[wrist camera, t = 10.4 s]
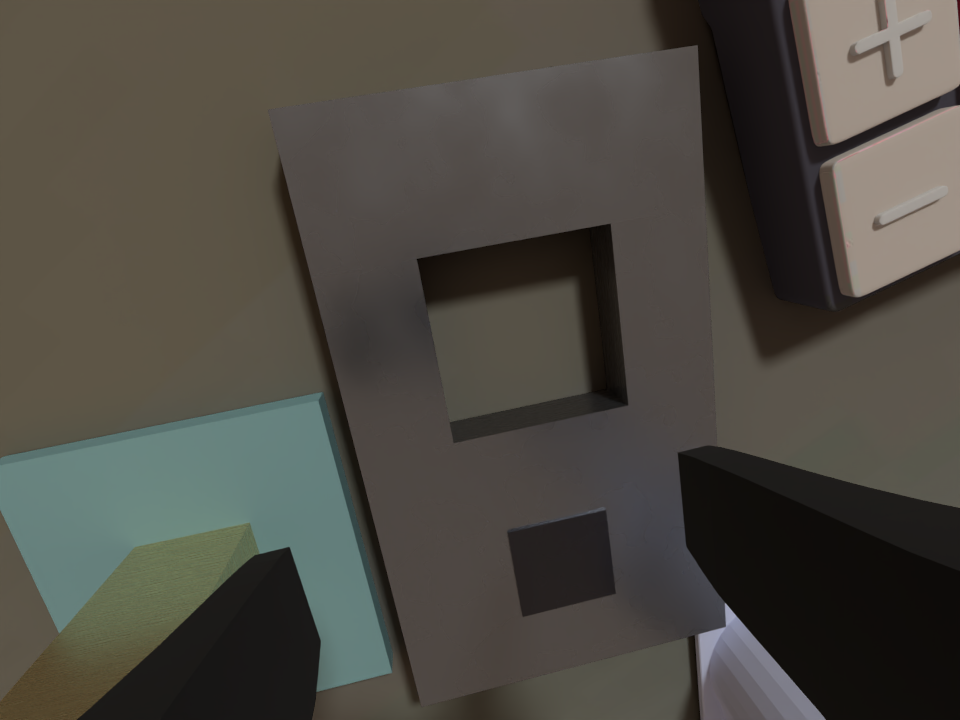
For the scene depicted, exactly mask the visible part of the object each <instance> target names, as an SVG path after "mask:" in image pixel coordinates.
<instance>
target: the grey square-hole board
mask: <svg viewBox="0 0 960 720" xmlns="http://www.w3.org/2000/svg"><path fill="white" fill-rule="evenodd" d="M268 112H269V116H270V120H271V124H272V128H273V132H274V136H275V140H276V144H277V147H278V151H279V155H280V159H281V163H282V167H283V171H284V175H285V178H286V182H287V186H288V190H289V194H290V198H291V202H292V206H293V210H294V213H295V217H296V221H297V225H298V229H299V233H300V237H301V241H302V245H303V248H304V252H305V256H306V260H307V264H308V268H309V272H310V276H311V279H312V283H313V287H314V291H315V295H316V299H317V303H318V307H319V311H320V314H321V318H322V322H323V326H324V330H325V334H326V338H327V342H328V346H329V349H330V353H331V357H332V361H333V365H334V369H335V373H336V377H337V380H338V384H339V388H340V392H341V396H342V400H343V404H344V408H345V412H346V415H347V419H348V423H349V427H350V431H351V435H352V439H353V443H354V446H355V450H356V454H357V458H358V462H359V466H360V470H361V474H362V478H363V481H364V485H365V489H366V493H367V497H368V501H369V505H370V509H371V513H372V516H373V520H374V524H375V528H376V532H377V536H378V540H379V544H380V547H381V551H382V555H383V559H384V563H385V567H386V571H387V575H388V579H389V582H390V586H391V590H392V594H393V598H394V602H395V606H396V610H397V614H398V617H399V621H400V625H401V629H402V633H403V637H404V641H405V645H406V648H407V652H408V656H409V660H410V664H411V668H412V672H413V676H414V680H415V683H416V687H417V691H418V695H419V699H420V703H421V707H424V706H427V705H431V704H435V703H439V702H443V701H446V700H450V699H454V698H458V697H462V696H465V695H469V694H473V693H477V692H481V691H484V690H488V689H492V688H496V687H500V686H503V685H507V684H511V683H515V682H519V681H522V680H526V679H530V678H534V677H538V676H541V675H545V674H549V673H553V672H557V671H560V670H564V669H568V668H572V667H576V666H579V665H583V664H587V663H591V662H595V661H598V660H602V659H606V658H610V657H614V656H617V655H621V654H625V653H629V652H633V651H636V650H640V649H644V648H648V647H652V646H655V645H659V644H663V643H667V642H671V641H674V640H678V639H682V638H686V637H690V636H693V635H697V634H701V633H705V632H709V631H712V630H716V629H720V628H724V627H726V616H725V602H724V601H723V600H722V598H721V597H720V596H719V595H718V594H717V592H716V591H715V589H714V588H713V586H712V585H711V583H710V582H709V581H708V579H707V578H706V576H705V575H704V573H703V572H702V570H701V569H700V567H699V566H698V564H697V562H696V561H695V559H694V558H693V556H692V555H691V553H690V552H689V550H688V549H687V547H686V540H685V529H684V518H683V507H682V496H681V484H680V473H679V462H678V452H682V451H686V450H690V449H694V448H699V447H703V446H707V445H711V446H716V447H717V432H716V411H715V391H714V371H713V350H712V330H711V309H710V289H709V268H708V248H707V227H706V207H705V186H704V166H703V145H702V125H701V104H700V84H699V63H698V45H695V46H688V47H682V48H675V49H668V50H662V51H655V52H649V53H642V54H635V55H629V56H622V57H615V58H609V59H602V60H595V61H589V62H582V63H575V64H569V65H562V66H555V67H549V68H542V69H535V70H529V71H522V72H515V73H509V74H502V75H495V76H489V77H482V78H475V79H469V80H462V81H455V82H449V83H442V84H435V85H429V86H422V87H416V88H409V89H402V90H396V91H389V92H382V93H376V94H369V95H362V96H356V97H349V98H342V99H336V100H329V101H322V102H316V103H309V104H302V105H296V106H289V107H282V108H276V109H269V110H268ZM589 227H590V234H591V243H592V253H593V262H594V271H595V280H596V289H597V299H598V308H599V317H600V326H601V336H602V345H603V354H604V363H605V372H606V382H607V389H605V390H600V391H596V392H591V393H586V394H581V395H577V396H572V397H567V398H563V399H558V400H553V401H548V402H544V403H539V404H534V405H530V406H525V407H520V408H516V409H511V410H506V411H501V412H497V413H492V414H487V415H483V416H478V417H473V418H468V419H464V420H459V421H454V422H449V417H448V412H447V407H446V402H445V397H444V392H443V387H442V382H441V377H440V372H439V367H438V362H437V357H436V352H435V347H434V342H433V337H432V332H431V327H430V322H429V317H428V312H427V307H426V302H425V297H424V292H423V287H422V282H421V277H420V272H419V267H418V262H417V259H418V258H423V257H429V256H434V255H440V254H445V253H451V252H456V251H462V250H467V249H473V248H478V247H484V246H490V245H495V244H501V243H506V242H512V241H517V240H523V239H528V238H534V237H539V236H545V235H550V234H556V233H561V232H567V231H572V230H578V229H583V228H589Z"/></svg>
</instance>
